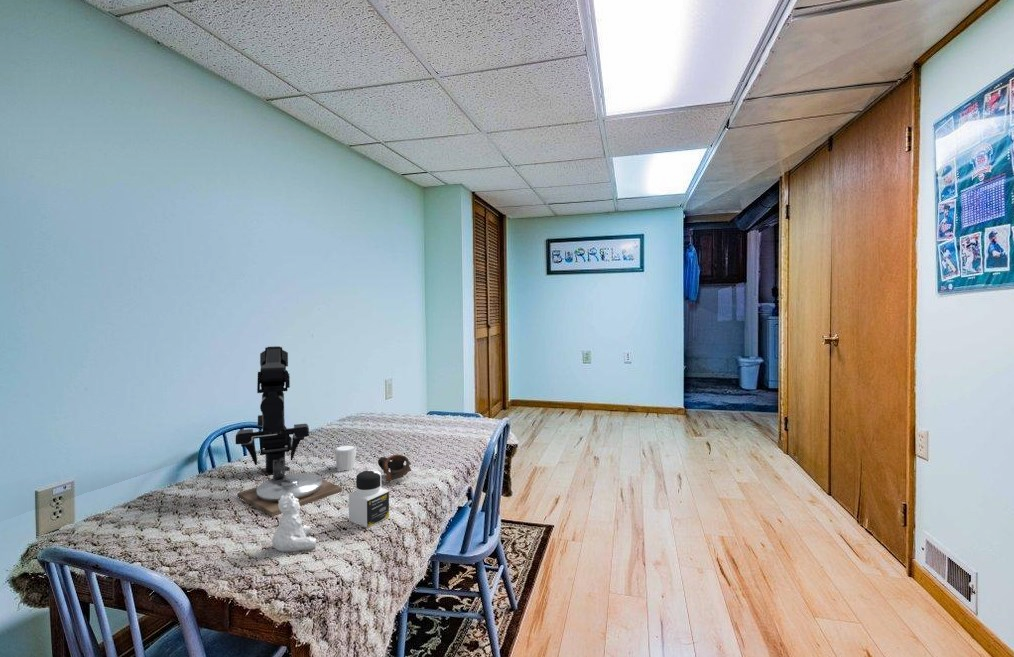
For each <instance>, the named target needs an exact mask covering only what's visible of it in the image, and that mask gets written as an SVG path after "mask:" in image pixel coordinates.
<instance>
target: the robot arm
mask: <svg viewBox="0 0 1014 657" xmlns="http://www.w3.org/2000/svg"><path fill="white" fill-rule="evenodd" d="M264 348H265V350H263V351H261V353H260V352H259V353H260V354H259V358H260V359H259V365H260V371H257V383H256V384H257V385H256V387H257V388H256V391H257V392H256V393H257V394H261V393H262V394H261V402H260V407H259V408H260V411H261V414H260V415H259V414H258V415H257V427H262V428H261V429H262V430H261V431H259V430H258V431H254V429H253V428H249V429H248V428H246V429H239V430H238V431H237V432H236V435H235V445H240V446H241V447H242V448H244V447H245V449H246V450H247V452H248V453H249V454H250V457H251V459H252V461H253V463H254V465H255V466H258V457H257V449H256V444H255V440H256V439H259V443H260V444H259V446H260V447H259V448H260V450H259V451H260V456H264V455H265V467H264V468H263V467H262V468H261V469H260V470H261V472H264V473H265V474H268V475H273V460H275V459H279V458H283V459H284V464H285V471H289V470H290V468H291V467H290V466H287V465H286V453H290V461H293V459H294V456H295V454H296V450H297V448H298V446H299V444H300V442H301V441H303V440H305V437H306V438H307V437H309V436H310V428H309V424H307V423H299V424H298V423H297V424H293V427H291V428H289V427H288V428H287V427H286V424H285V393H284V392H288V389H289V388H290V387H291V383H290V378H291V376H290V373H289V371H288V370H286V369H287V368H288V367H289V352H288V351H286V350H284V349H283V346H276V345H275V346H266V347H264ZM291 436H292V437H291Z"/></svg>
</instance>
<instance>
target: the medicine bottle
mask: <svg viewBox="0 0 1014 657" xmlns="http://www.w3.org/2000/svg"><path fill="white" fill-rule="evenodd" d="M355 481H356V482H355V483H356V484H355V485H356V488H355V490H354V491H351V492H349V493H348V521H349V522H351V523H354V524H356V525H359V526H362V527H364V528H366V529H369V528H370V527H372V526H375V525H377V524H378V523H380V522H382V521H384V520H386V519H388V518H389V517H390V490H389V489H386V488H383V487H382V473H381V472H380V471H379V470H376V469H367V470H363V471H361V472H359V473H358V474H357V475H356V479H355Z"/></svg>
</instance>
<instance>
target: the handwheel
mask: <svg viewBox="0 0 1014 657" xmlns="http://www.w3.org/2000/svg"><path fill="white" fill-rule="evenodd" d="M285 466H286V463H285V464H284V459H283V458H279V459H275V460H273V474H272V476H273V477H272V478H270V479H268V480H266V481H263V482H262V483H260V484H259V485H258V486H256V487H257V490H256V493H257V497H258V498H259V499H261V500H263V501H269V502H278V501H279V500H280V498H281V496H282V495H283V496H285V495H286V494H287V493H293V495H294V497H295V498H297V499H300V498H303V497H306V496H309V495H311V494H313V493H315V492H317V491H318V490H320V489H321V487H322V479H323V478H322V477H321V476H320V474H319V475H318V474H316V473H308V472H301V473H300V472H299V473H298V472H297V473H289V474H286V473H285V472H286V470H285Z"/></svg>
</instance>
